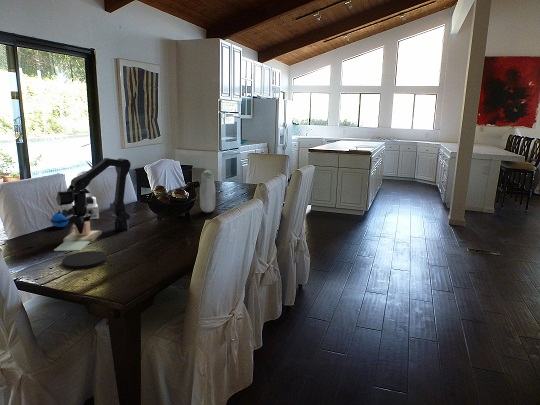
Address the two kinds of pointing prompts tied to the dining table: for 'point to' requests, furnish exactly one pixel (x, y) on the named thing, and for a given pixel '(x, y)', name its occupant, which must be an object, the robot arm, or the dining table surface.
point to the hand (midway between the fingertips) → (82, 231)
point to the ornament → (59, 219)
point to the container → (92, 207)
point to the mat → (72, 246)
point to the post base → (82, 237)
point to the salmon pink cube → (85, 230)
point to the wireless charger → (84, 260)
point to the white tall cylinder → (207, 192)
